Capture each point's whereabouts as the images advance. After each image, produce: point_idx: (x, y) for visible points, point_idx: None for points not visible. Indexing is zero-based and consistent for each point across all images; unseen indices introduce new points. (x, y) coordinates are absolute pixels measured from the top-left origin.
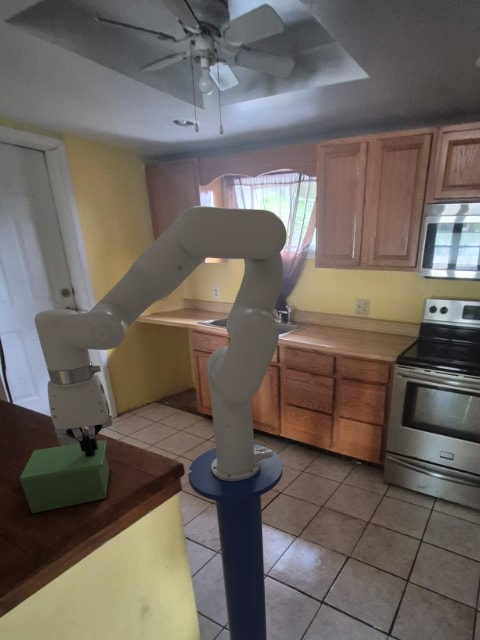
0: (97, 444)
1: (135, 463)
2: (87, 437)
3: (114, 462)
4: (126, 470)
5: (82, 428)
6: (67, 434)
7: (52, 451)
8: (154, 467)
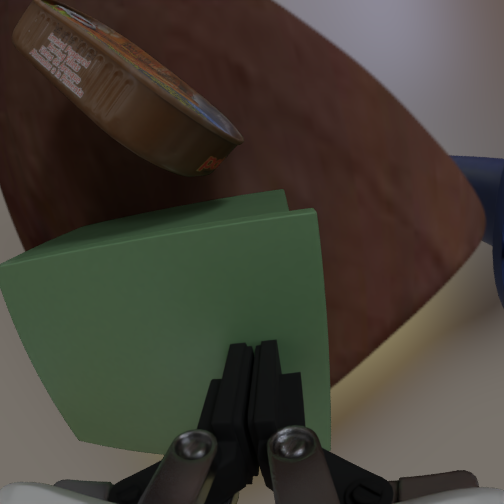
0: (301, 381)
1: (378, 155)
2: (246, 431)
3: (289, 123)
4: (351, 201)
5: (205, 478)
6: (48, 77)
7: (55, 300)
8: (444, 207)
